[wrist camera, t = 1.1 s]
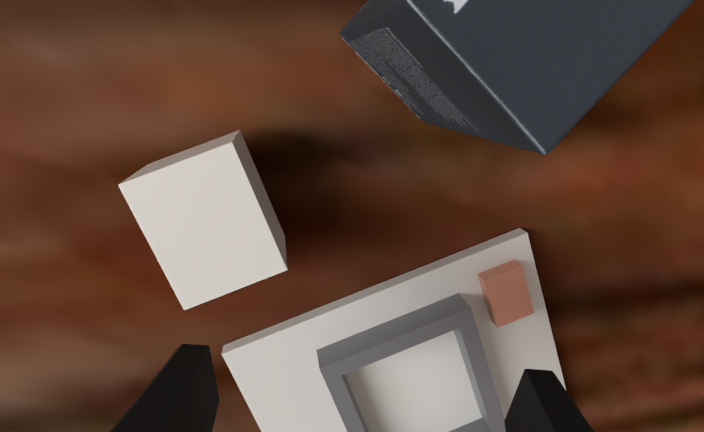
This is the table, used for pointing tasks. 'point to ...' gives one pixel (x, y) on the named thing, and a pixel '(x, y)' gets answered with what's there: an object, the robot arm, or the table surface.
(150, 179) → the plug
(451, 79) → the box
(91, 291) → the table surface
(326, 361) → the socket plate
